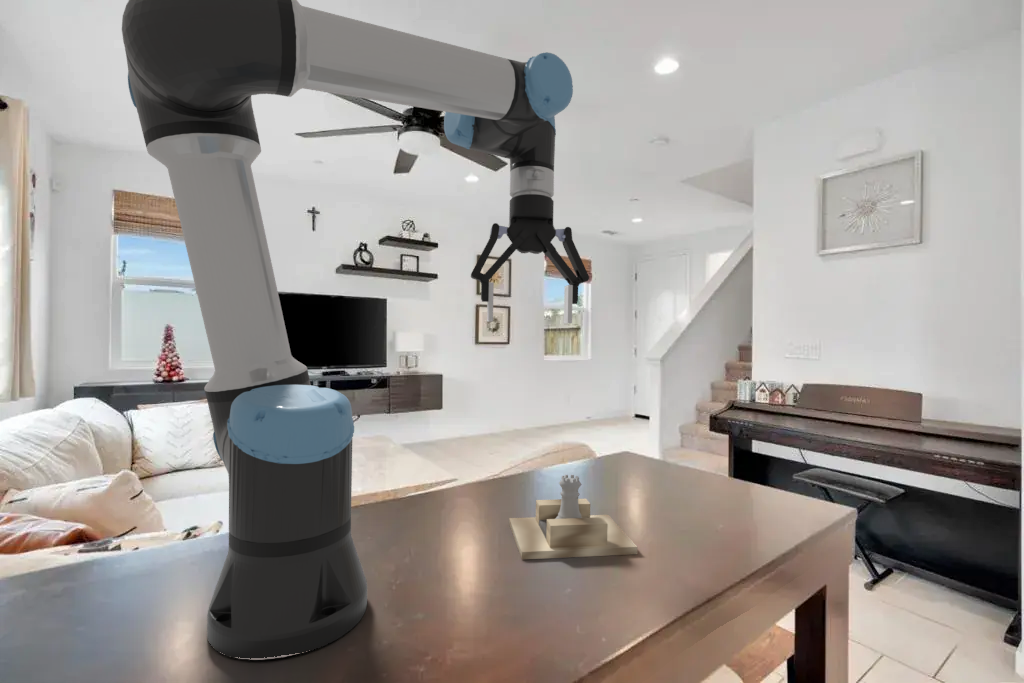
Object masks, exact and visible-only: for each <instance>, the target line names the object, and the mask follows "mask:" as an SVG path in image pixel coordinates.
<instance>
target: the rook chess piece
mask: <svg viewBox="0 0 1024 683" xmlns="http://www.w3.org/2000/svg"><path fill="white" fill-rule="evenodd" d="M558 484H559V485H560V487H561V492H560V494H559V495H560V496H561V499H562V501H561V507H560V511H559V513H558V516H557V517H556V518H555V519H566V518H582V517H581V514H580V511H579V504H578V499H579V496H580V493H579V488H580V487H581V486H582V483H581V482H580V476H578V475H574V474H570V477H569V475H568V474H565V475H561V480H560V481H559V482H558Z"/></svg>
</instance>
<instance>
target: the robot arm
mask: <svg viewBox="0 0 1024 683" xmlns="http://www.w3.org/2000/svg"><path fill="white" fill-rule="evenodd" d="M121 34H122V41H123V46H124V50H125V56H126V63H127V64H126V65H127V85H128V86H127V87H128V90H129V95H130V99H131V101H132V104H133V106H134V107H135V109H136V111H137V115H138V120H139V122H140V127H141V132H142V136H143V140H144V144H145V147H146V151H147V153H148V155H149V156H150V157H152V158H154V159H155V160H156V161H158V162H159V163H160V164H162V165H164V167H166V169H167V172H168V176H169V181H170V185H171V189H172V194H173V197H174V201H175V206H176V211H177V213H178V214H177V215H178V219H179V222H180V227H181V232H182V235H183V239H184V244H185V248H186V252H187V257H188V261H189V266H190V270H191V273H192V278H193V282H194V286H195V291H196V294H197V299H198V303H199V307H200V311H201V315H202V316H201V317H202V321H203V324H204V329H205V332H206V334H205V335H206V337H207V341H208V345H209V350H210V354H211V358H212V362H213V367H214V372H213V375H212V377H210V379H209V380H208V382H207V383H206V384H205V386H204V393H205V397H206V401H207V406H208V409H209V410H208V411H209V414H210V418H211V422H212V423H211V424H212V428H213V433H212V439H213V444H214V447H215V450H216V452H217V454H218V456H219V458H220V459H221V461H222V462H223V465H224V466H225V469H226V472H227V474H228V551H227V555H226V558H225V561H224V563H223V567H222V568H221V571H220V574H219V577H218V581H217V584H216V586H215V588H214V592H213V594H212V597H211V600H210V603H209V605H208V609H207V618H206V621H207V622H206V627H207V628H206V639H207V641H209V642H208V644H209V643H210V644H211V645H210V644H209V645H210V647H211V646H213V647H214V648H215V649H216V650H217V651H219V652H221V653H223V654H225V655H227V656H231V657H238V658H239V657H240V658H250V659H251V658H264V657H265V658H267V657H274V656H275V657H277V656H281V655H289V654H295V653H302V652H306V651H309V650H312V651H314V650H313V649H315V650H317V649H316V648H318V649H320V648H322V647H325V646H327V645H329V644H332V643H333V642H334V641H336V640H338V639H340V638H341V637H343V636H344V635H346V634H347V633H348V632H350V631H352V629H354V627H355V626H356V625H357V624H358V623H359V622H360V621H361V620H362V619H363V617H364V615H365V613H366V610H367V606H368V584H367V582H368V581H367V578H366V575H365V571H364V569H363V566H362V562H361V561H360V557H359V555H358V551H357V548H356V545H355V542H354V539H353V537H352V492H353V491H352V490H353V488H352V482H353V481H352V480H353V478H352V477H353V475H352V473H353V437H354V433H355V426H354V425H355V424H354V423H355V422H354V419H353V409H352V404H351V401H350V399H348V397H347V396H346V395H345V394H343V393H341V392H340V391H338V390H336V389H332V388H328V387H319V386H318V385H311V380H310V376H309V371H308V367H307V366H306V365H305V364H303V363H302V362H300V361H298V360H297V359H296V358H295V357H293V355H292V352H291V348H290V343H289V338H288V333H287V329H286V325H285V324H286V323H285V320H284V315H283V314H284V313H283V310H282V305H281V300H280V296H279V291H278V287H277V286H278V285H277V282H276V277H275V273H274V269H273V268H274V267H273V263H272V259H271V253H270V250H269V244H268V240H267V236H266V235H267V234H266V230H265V226H264V222H263V217H262V212H261V208H260V202H259V197H258V193H257V188H256V183H255V180H254V174H253V170H252V164H253V163H254V161H256V159H257V158H258V156H259V155H260V154H261V153H262V148H261V143H260V138H259V133H258V128H257V124H256V123H257V122H256V118H255V114H254V113H255V112H254V108H253V104H252V96H256V95H266V94H267V95H276V96H283V97H289V98H291V97H292V96H294V95H295V94H296V93H297V92H298V91H300V90H302V89H304V90H311V91H316V92H324V93H328V94H334V95H335V94H336V95H342V96H347V97H353V98H360V99H366V100H372V101H379V102H385V103H390V104H396V105H404V106H410V107H415V108H422V109H426V110H433V111H440V112H443V113H444V112H445V113H444V118H443V120H444V121H443V130H444V134H445V135H444V136H446V139H447V141H449V142H450V143H451V144H453V145H455V146H459V147H462V148H464V149H466V150H473V151H476V152H480V153H483V154H484V153H485V154H489V155H491V156H492V155H493V156H497V157H500V158H504V159H508V160H509V168H510V169H509V196H510V197H511V199H510V200H509V214H508V215H509V216H508V218H509V219H508V220H509V222H508V226H505V225H504V226H503V225H500V224H498V223H497V222H496V223H495V222H494V223H493V224H492V226H491V227H490V233H489V239H488V241H487V242H486V244H485V247H484V248H483V250H482V253H481V254H480V256H479V259H478V260H477V262H476V263H475V266H474V267H473V269H472V271H471V273H470V278H471V279H472V280H476V281H478V282H480V300H481V302H483V303H484V302H485V303H487V305H486V310H487V311H486V312H487V313H486V322H488V323H489V322H490V323H492V322H493V321H494V291H495V290H494V283H495V282H491V281H490V279H492V277H494V276H495V274H496V273H497V272H498V270H500V268H502V266H503V265H504V264H505V263H506V262H507V261H508V259H509V258H510V257H511V256H512V255H513V253H515V251H517V252H518V253H520V254H528V253H530V254H535V255H539V254H541V253H543V254H544V255H545V256H546V257H547V258H548V260H550V262H551V263H552V265H553V266H554V268H556V269H557V270H558V272H559V274H560V275H561V276H562V278H564V280H565V281H566V283H568V284H567V285H564V292H563V294H564V299H563V302H564V303H563V304H564V305H563V324H573V305H577V303H578V302H579V287H580V286H579V285H581V284H583V283H586V282H588V281H589V280H590V275H589V274H588V271H587V268H586V267H585V265H584V263H583V260H582V258H581V255H580V254H579V251H578V249H577V247H576V245H575V243H574V240H573V232H572V230H573V229H572V228H571V227H570V226H565V228H557V229H556V228H555V226H554V202H555V201H554V199H553V196H554V194H555V187H554V186H555V184H554V183H555V182H554V181H555V180H554V179H555V176H554V175H555V154H556V153H555V151H556V133H557V132H556V120H555V118H556V117H555V116H556V115H558V114H560V113H561V112H563V111H564V110H565V109H567V107H568V106H569V105H570V103H571V101H572V97H573V94H574V93H573V92H574V85H573V77H572V75H571V71H570V69H569V67H568V66H567V64H566V63H565V61H564V60H563V59H562V58H560V57H559V56H558V55H557V54H555V53H552V52H541V53H538V54H537V55H536V56H532V57H530V58H528V59H527V61H525V62H522V61H518V60H514V59H510V58H505V57H500V56H497V55H494V54H490V53H487V52H482V51H478V50H473V49H470V48H467V47H464V46H463V47H462V46H458V45H455V44H451V43H448V42H444V41H439V40H435V39H432V38H428V37H424V36H420V35H416V34H412V33H409V32H405V31H401V30H398V29H393V28H388V27H385V26H382V25H377V24H374V23H370V22H366V21H362V20H358V19H355V18H352V17H351V18H350V17H347V16H344V15H339V14H335V13H331V12H327V11H325V10H324V11H322V10H319V9H315V8H312V7H308V6H303V5H302V4H300V3H299V1H298V0H127V3H126V5H125V7H124V11H123V14H122V22H121ZM503 235H506V236H507V239H509V241H510V242H511V244H510V245H509V246H508V247H507V248H506V249H505V250H504V251H503V253H502V254H501V255H500V256H499V257H498V258H497V260H495V262H494V263H493V264H492V265H491V266H490V268H489V269H488V270H486V272H485V273H482V272H481V271H482V269H483V268H484V266H485V263H486V262H487V260H488V258H489V257H490V254H491V253H492V251H493V249H494V247H495V245H496V242H498V240H500V239H502V237H503ZM555 237H557V239H558V241H559V242H561V243H562V247H563V249H564V251H565V253H566V255H567V257H568V260H569V262H570V263H571V266H572V269H573V270H572V269H571V268H570V266H569V265H568V264H567V263H566V261H565V260H564V259H563V257H562V256H561V255H560V253H559V252H558V251H557V249H556V247H555V245H553V243H552V241H553V239H554V238H555ZM573 271H574V272H573ZM328 643H329V644H328ZM321 646H322V647H321ZM216 650H215V651H216ZM217 651H216V652H217ZM219 652H218V653H219ZM225 655H224V656H225ZM227 656H226V657H227ZM231 657H230V658H231Z"/></svg>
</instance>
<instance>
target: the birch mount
mask: <svg viewBox="0 0 1024 683" xmlns="http://www.w3.org/2000/svg"><path fill="white" fill-rule="evenodd" d="M561 501H562V498H561V499H558V498H557V499H536V500H535V516H533V517H529V516H528V517H509V522H508V524H509V527H510V530H511V533H512V536H513V539H514V542H515V545H516V547H517V551H518V554H519V556H520V559H521V561H522V560H539V559H542V560H543V559H560V558H561V559H562V558H563V559H566V558H578V557H579V558H585V557H604V556H605V557H606V556H621V555H625V556H626V555H627V556H629V555H638V546H637V545H636V544H635V543H634V541H633V540H632V539H631V538H630V537H629V536H628V535H627V533H626V532H625V531H623V529H622V528H621V527H620V526H619V524H617V523H616V521H614V519H613V518H612V517H611V516H610V515H609V514H591V502H590V501H589V500H588V499H587V498H578V504H579V511H580V514H581V517H582V518H566V519H555V518H556V517H557V516H558V513H559V511H560V507H561Z"/></svg>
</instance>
